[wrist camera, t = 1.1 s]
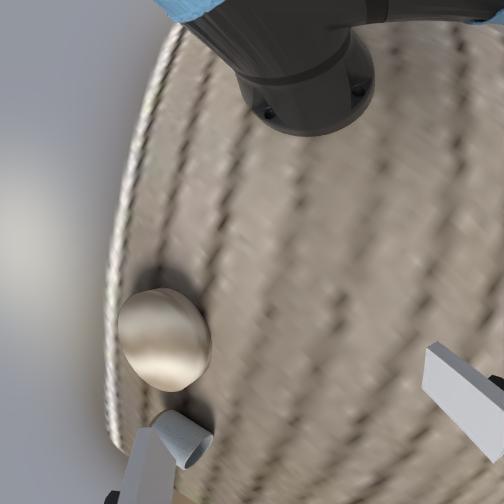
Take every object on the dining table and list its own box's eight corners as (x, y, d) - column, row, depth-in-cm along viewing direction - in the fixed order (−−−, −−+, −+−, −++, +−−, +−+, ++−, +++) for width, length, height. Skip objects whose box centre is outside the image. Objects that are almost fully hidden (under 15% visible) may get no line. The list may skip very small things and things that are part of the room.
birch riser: (129, 290, 40) (109, 295, 36) (201, 283, 34) (181, 288, 31) (149, 374, 40) (132, 383, 36) (222, 384, 34) (206, 398, 31)
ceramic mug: (174, 398, 38) (141, 421, 31) (218, 425, 35) (188, 455, 28) (168, 435, 40) (140, 457, 33) (206, 460, 37) (181, 486, 30)
